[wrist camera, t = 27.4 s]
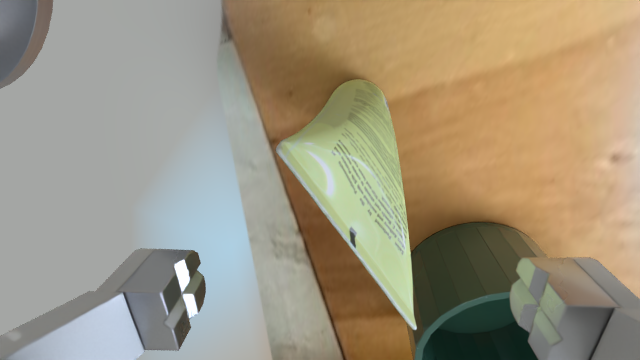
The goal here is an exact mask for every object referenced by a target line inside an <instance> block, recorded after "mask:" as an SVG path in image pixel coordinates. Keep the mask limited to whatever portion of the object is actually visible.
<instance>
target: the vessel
mask: <svg viewBox="0 0 640 360" xmlns="http://www.w3.org/2000/svg"><path fill="white" fill-rule="evenodd" d="M522 257H527V258H549V257H548V256H547V255H546V254H545V253H544V252H543V251H542V250H541V249H540V248H539V246H538V245H537V244H536V243H535V242H534V241H533V240H532V239H531V238H530V237H528V236H527V235H525V234H524V233H522V232H520V231H518V230H516V229H514V228H511V227H508V226H505V225H501V224H496V223H486V222H475V223H466V224H460V225H456V226H452V227H449V228H447V229H444V230H442V231H439V232H437V233H435V234H433V235H432V236H430V237H429V238H427V239H426V240H424V241H423V242H422V243H421V244H419V245H418V246H417V247H416V248H415V249H414V250H413V252H412V253H411V265H412V281H413V311H414V318H415V322H416V326H417V329H416V330H413V329H412V328H411V327H410V325H409V324H408V323H407V322H406V323H407V329H408V334H409V340H410V345H411V351H412V356H413V360H538V358H537V356H536V355H535V353H534V351H533V350H532V348H531V346H530V344H529V343H528V338H529V335H530V333H529V332H527V331H526V330H525V329H523V328H522V327H520V326H519V325H518V324H517V322H516V320H515V318H514V316H513V314H512V311H511V308H510V298H509V295H510V291H511V286H512V284H514V283H515V282H516V281H517V280H518V279H520V277H519V275H518V274H517V272H516V268H517V264H518V262H519V261H520V259H521V258H522Z"/></svg>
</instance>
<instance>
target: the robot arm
mask: <svg viewBox="0 0 640 360" xmlns="http://www.w3.org/2000/svg"><path fill="white" fill-rule="evenodd" d="M199 265H200V259H199V255H198V253H197V252H195V251H193V250H172V249H142V248H141V249H138V250H135V251H134V252H133V253H132V254H131V255H130V256H129V257H128V258H127V259H126V260H125V261H124V262H123V263H122V264H121V265H120V266H119V267H118V269H117V270H116V271H115V272H114V273H113V274H112V275H111V276H110V277H109V278H108V279H107V280H106V281H105V282H104V283H103V284H102V285H101V286H100V287H99V288H98V289H97V290H96V291H95V292H94V291H89V292H87V293H85V294H83V295H81V296H79V297H77V298H75V299H73V300H71V301H69V302H67V303H65V304H63V305H61V306H59V307H57V308H55V309H53V310H51V311H49V312H47V313H45V314H43V315H41V316H39V317H37V318H35V319H33V320H31V321H29V322H27V323H25V324H23V325H21V326H19V327H17V328H15V329H13V330H11V331H9V332H7V333H5V334H3V335H1V336H0V360H136V359H137V358H138V357H139V356H140V355H142V354H143V353H144V352H145V351H144V350H177V351H178V350H179V349H180V347H181V345H182V343H183V341H184V339H185V338H186V336H187V334H188V332H189V330H190V328H191V326H190V322H189V319H191V318H192V317H194V316H195V315H196V314H198V313H199V311H200V309H201V307H202V305H203V302H204V297H205V292H206V291H205V290H206V287H205V280H204V276H203V275H202V274H201V273H200V272H199V271H197V268H198V267H199ZM516 272H517V274H518V275H519V277H520V279H518V280H517V281H516V282H515V283H514V284H512V286H511V291H510V295H509V298H510V308H511V311H512V314H513V316H514V318H515V320H516V322H517V324H518V325H519V326H520V327H522V328H523V329H525V330H526V331H527V332H529V333H530V335H529V338H528V343H529V344H530V346H531V348H532V350H533V351H534V353H535V355H536V356H537V358H538V360H640V299H639V298H638V297H636V296H635V295H634V294H633V293H632V292H631V291H630V290H629V289H628V288H627V287H626V286H624V285H623V284H622V283H621V282H620V281H619V280H618V279H617V278H616V277H615V276H614V275H613V274H611V273H610V272H609V271H608V270H607V269H606V268H605V267H604V266H603V265H602V264H601V263H600V262H598V261H597V260H595V259H593V258H590V257H567V258H527V257H522V258H521V259H520V261H519V262H518V264H517V268H516Z"/></svg>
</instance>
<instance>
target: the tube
mask: <svg viewBox="0 0 640 360" xmlns="http://www.w3.org/2000/svg"><path fill="white" fill-rule="evenodd" d="M276 152H277V154H278V155H279V156H280V157H281V159H282V160H283V161H284V162H285V164H286V165H287V166H288V168H289V169H290V170H291V171H292V173H293V174H294V175H295V177H296V178H297V179H298V180H299V182H300V183H301V184H302V185H303V187H304V188H305V189H306V190H307V192H308V193H309V194H310V196H311V197H312V198H313V200H314V201H315V202H316V204H317V205H318V207H319V208H320V209H321V210H322V212H323V213H324V214H325V216H326V217H327V218H328V220H329V221H330V222H331V224H332V225H333V226H334V227H335V229H336V230H337V231H338V232H339V234H340V235H341V236H342V237H343V239H344V240H345V241H346V242H347V244H348V245H349V246H350V248H351V249H352V250H353V252H354V253H355V254H356V256H357V257H358V258H359V260H360V261H361V262H362V264H363V265H364V267H365V268H366V269H367V271H368V272H369V273H370V274H371V276H372V277H373V278H374V280H375V281H376V282H377V284H378V285H379V286H380V288H381V289H382V290H383V291H384V293H385V294H386V296H387V297H388V298H389V300H390V301H391V302H392V304H393V305H394V307H395V308H396V309H397V311H398V312H399V313H400V314H401V316H402V317H403V318H404V319H405V321H406V322H407V323H408V324H409V325H410V327H411V328H412V329H413V330H416V329H417V326H416V322H415V318H414V311H413V281H412V265H411V254H410V244H409V234H408V224H407V215H406V207H405V199H404V191H403V183H402V176H401V169H400V163H399V156H398V150H397V144H396V139H395V133H394V129H393V124H392V120H391V116H390V112H389V108H388V104H387V101H386V98H385V96H384V94H383V92H382V91H381V90H380V89H379V88H378V87H377V86H376V85H375V84H373V83H371V82H369V81H366V80H360V79H356V80H350V81H347V82H345V83H343V84H341V85H340V86H339V87H338V88H337V89H336V90H335V91H334V92H333V94H332V95H331V97H330V98H329V100H328V102H327V103H326V105H325V106H324V108H323V109H322V110H321V111H320V113H319V114H318V115H317V116H316V117H315V118H314V119H313V120H312V121H311V122H310V123H309V124H308V125H307V126H305V127H304V128H303V129H302V130H301V131H299V132H297V133H296V134H294V135H292V136H290V137H288V138H286V139H284V140H282V141H281V142H280V143H279V145H278V146H277V148H276Z"/></svg>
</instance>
